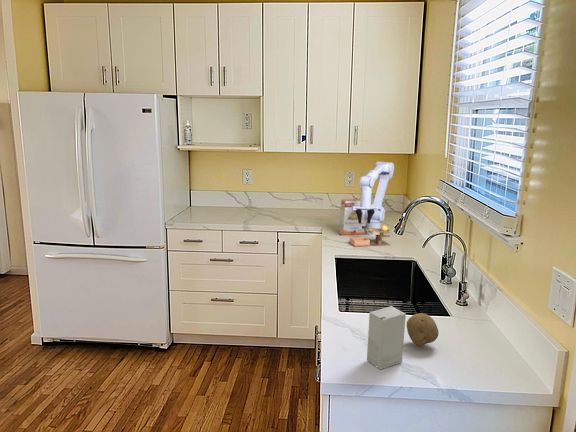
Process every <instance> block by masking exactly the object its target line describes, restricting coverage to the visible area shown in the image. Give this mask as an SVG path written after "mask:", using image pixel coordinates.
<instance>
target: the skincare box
mask: <svg viewBox="0 0 576 432" xmlns="http://www.w3.org/2000/svg"><path fill="white" fill-rule="evenodd" d="M368 317H369V318H368V330H367V331H368V334H367V349H366V350H367V351H366V352H367V353H366V361H367V360H368V361H370V362H371V363H372V364H371V363H370V362H369V363H370V364H371V365H373V364H374V365H375V366H377V367H378V368H379V369H378V368H377V367H376V368H377V369H378V370H380V369H381V370H383V369H382V368H384V369H386V368H385V367H387V368H390V367H392V365H393V366H395V364H396V365H398V364H401V363H403V355H404V354H403V353H404V343H405V341H404V340H405V328H406V317H407V314H406V313H405V312H403V311H401V310H399V309H398V308H396V307H394V306H392V305H390V306H386V307H384V308H381V309H377V310H372V311H370V312H369V315H368ZM368 361H367V362H368ZM374 365H373V366H374ZM375 366H374V367H375ZM389 366H390V367H389Z"/></svg>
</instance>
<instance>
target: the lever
mask: <svg viewBox="0 0 576 432" xmlns="http://www.w3.org/2000/svg"><path fill="white" fill-rule="evenodd" d="M366 228H367V226H366V225H365V226H362V229H364V230H366V231H368V232H369V233H371V234H373V235H380V232H383V233H384V236H383V238H384V237H385V238H390V237H391V229H388V230H387V231H381V228H380V229H378V228H369V229H366Z"/></svg>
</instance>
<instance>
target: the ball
mask: <svg viewBox="0 0 576 432" xmlns="http://www.w3.org/2000/svg"><path fill="white" fill-rule="evenodd" d="M380 229H381V231H387V230H389V228H388V226H387V225H382V226H381V227H380Z"/></svg>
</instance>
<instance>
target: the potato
mask: <svg viewBox="0 0 576 432" xmlns="http://www.w3.org/2000/svg"><path fill="white" fill-rule="evenodd" d="M406 330H407V334H408V336H409V338H410V341H411V342H412V343H413V344H414V346H416V347H418V346H419V347H424V346H425V345H427V344H430V343H433V342H435V341H436V340H437V339H438V337H439V333H440V332H439V328H438V326H437V323H436V322H435V320H434V319H433V318H432V317H431V316H430V315H428V314H426V313H422V312H420V313H415V314H413V315H411V316H410V317H409V318H408V319H407V321H406ZM419 347H418V348H419Z"/></svg>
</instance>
